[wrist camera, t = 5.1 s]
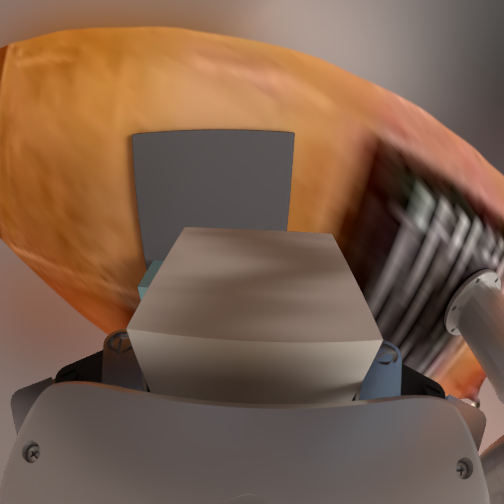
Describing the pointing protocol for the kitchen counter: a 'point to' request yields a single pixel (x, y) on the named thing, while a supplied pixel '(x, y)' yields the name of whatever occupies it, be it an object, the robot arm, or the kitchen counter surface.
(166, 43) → the kitchen counter surface
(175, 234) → the mat
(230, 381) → the cream cube
